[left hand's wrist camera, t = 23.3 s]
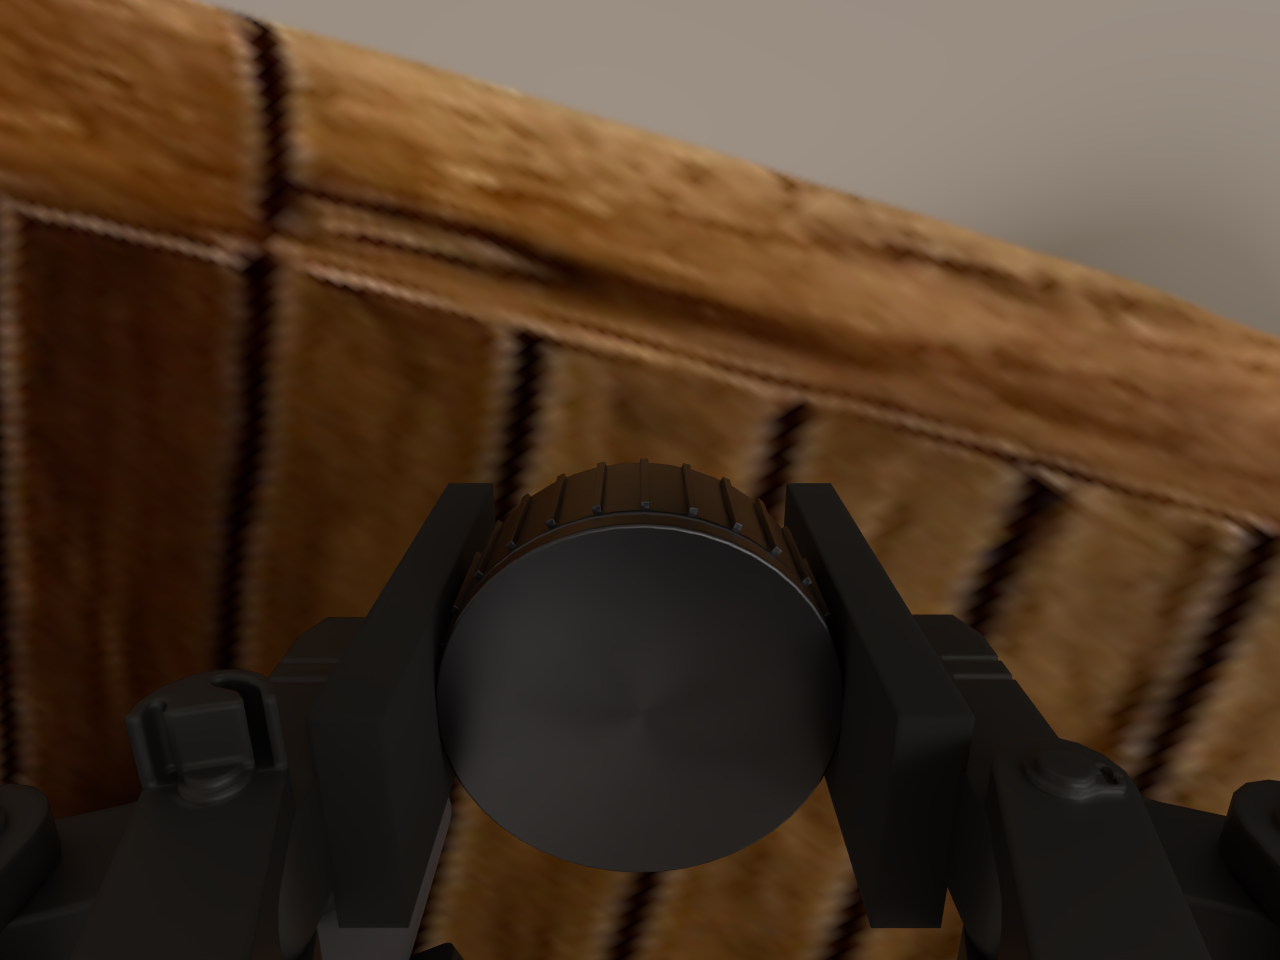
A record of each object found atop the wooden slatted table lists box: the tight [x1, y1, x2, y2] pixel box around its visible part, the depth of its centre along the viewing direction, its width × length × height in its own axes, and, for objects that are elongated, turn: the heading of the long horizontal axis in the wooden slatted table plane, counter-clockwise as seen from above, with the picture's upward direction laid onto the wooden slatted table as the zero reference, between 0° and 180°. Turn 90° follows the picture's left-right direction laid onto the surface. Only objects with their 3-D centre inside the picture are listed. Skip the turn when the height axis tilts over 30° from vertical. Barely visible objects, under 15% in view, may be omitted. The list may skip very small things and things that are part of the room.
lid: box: [435, 459, 845, 872], centre depth 11 cm, size 5×5×2 cm
